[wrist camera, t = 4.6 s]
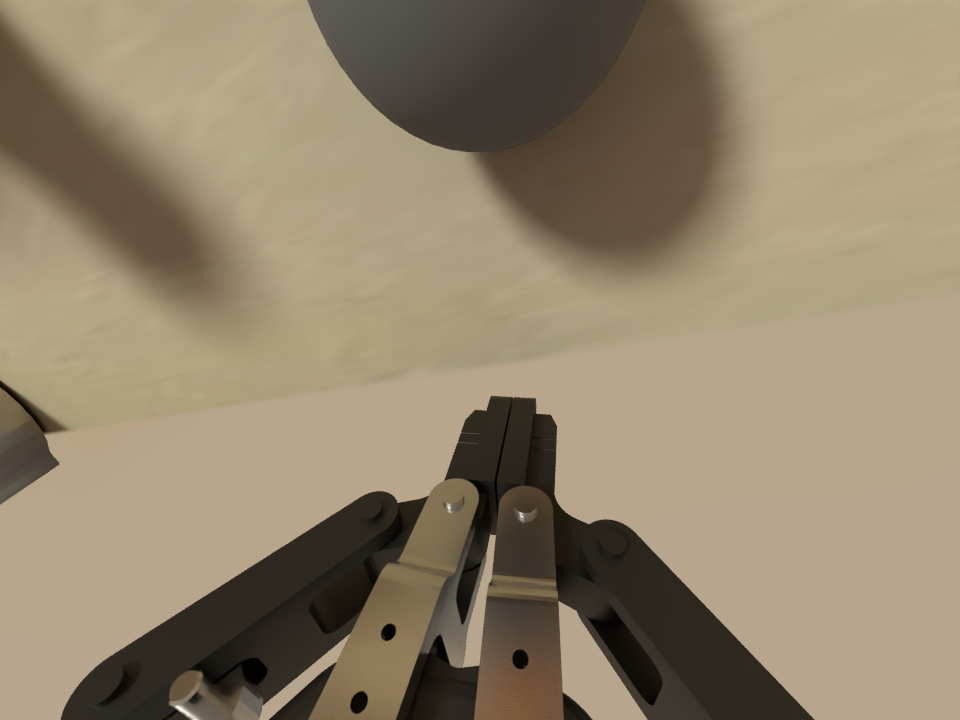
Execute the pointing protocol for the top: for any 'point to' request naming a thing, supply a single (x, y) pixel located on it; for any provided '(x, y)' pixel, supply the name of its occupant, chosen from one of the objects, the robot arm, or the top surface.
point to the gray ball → (476, 62)
